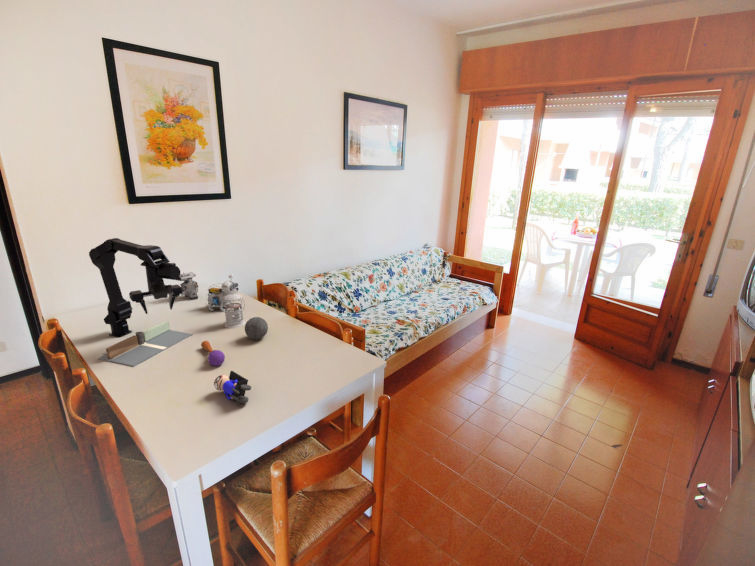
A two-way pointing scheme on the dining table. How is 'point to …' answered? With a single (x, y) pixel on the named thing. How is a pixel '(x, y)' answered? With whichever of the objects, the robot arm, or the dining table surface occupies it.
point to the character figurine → (233, 386)
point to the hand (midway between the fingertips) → (159, 311)
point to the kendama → (213, 354)
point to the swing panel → (156, 330)
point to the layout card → (148, 348)
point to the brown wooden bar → (125, 345)
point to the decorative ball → (256, 328)
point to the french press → (236, 320)
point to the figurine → (189, 285)
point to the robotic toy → (221, 295)
